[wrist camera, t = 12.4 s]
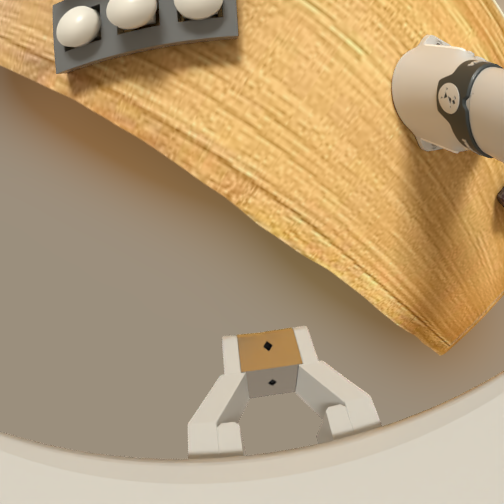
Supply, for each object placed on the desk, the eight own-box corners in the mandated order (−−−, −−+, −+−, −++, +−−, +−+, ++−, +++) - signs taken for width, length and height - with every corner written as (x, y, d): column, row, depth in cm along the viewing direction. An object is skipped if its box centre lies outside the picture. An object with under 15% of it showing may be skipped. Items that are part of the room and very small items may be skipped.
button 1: (107, 6, 23) (95, 0, 20) (109, 41, 26) (96, 38, 23) (71, 19, 23) (55, 15, 19) (73, 53, 26) (57, 52, 22)
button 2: (221, -14, 24) (222, -25, 21) (223, 21, 27) (224, 14, 23) (177, -9, 24) (172, -19, 20) (179, 26, 27) (174, 20, 23)
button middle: (160, -10, 23) (153, -20, 19) (162, 27, 25) (155, 21, 22) (117, 0, 22) (105, -8, 19) (119, 36, 25) (107, 32, 21)
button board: (232, -29, 23) (233, -37, 21) (236, 38, 29) (238, 35, 26) (63, 8, 22) (52, 5, 19) (66, 72, 27) (56, 73, 25)
